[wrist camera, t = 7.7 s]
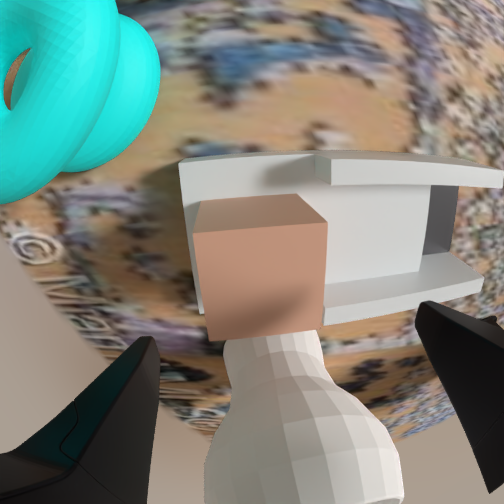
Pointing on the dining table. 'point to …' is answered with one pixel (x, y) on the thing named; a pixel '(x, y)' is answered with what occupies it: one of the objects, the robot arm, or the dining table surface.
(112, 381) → the robot arm
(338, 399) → the cup
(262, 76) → the dining table surface
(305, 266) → the terracotta cube
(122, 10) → the dining table surface
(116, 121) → the donuts
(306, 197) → the grey channel
